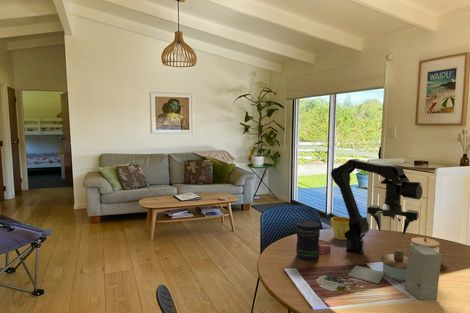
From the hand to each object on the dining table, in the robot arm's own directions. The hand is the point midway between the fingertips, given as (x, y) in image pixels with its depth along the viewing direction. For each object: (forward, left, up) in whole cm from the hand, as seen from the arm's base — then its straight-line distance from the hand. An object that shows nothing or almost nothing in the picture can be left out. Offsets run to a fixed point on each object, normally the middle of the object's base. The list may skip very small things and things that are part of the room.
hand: (391, 232), depth 138 cm
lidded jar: (+11, +12, -13) cm, 21 cm away
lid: (+5, -11, -8) cm, 14 cm away
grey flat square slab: (-5, -19, -12) cm, 23 cm away
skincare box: (+14, -23, -13) cm, 30 cm away
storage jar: (-30, -16, -13) cm, 36 cm away
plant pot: (-27, +18, -13) cm, 35 cm away
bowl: (+5, -11, -12) cm, 17 cm away
